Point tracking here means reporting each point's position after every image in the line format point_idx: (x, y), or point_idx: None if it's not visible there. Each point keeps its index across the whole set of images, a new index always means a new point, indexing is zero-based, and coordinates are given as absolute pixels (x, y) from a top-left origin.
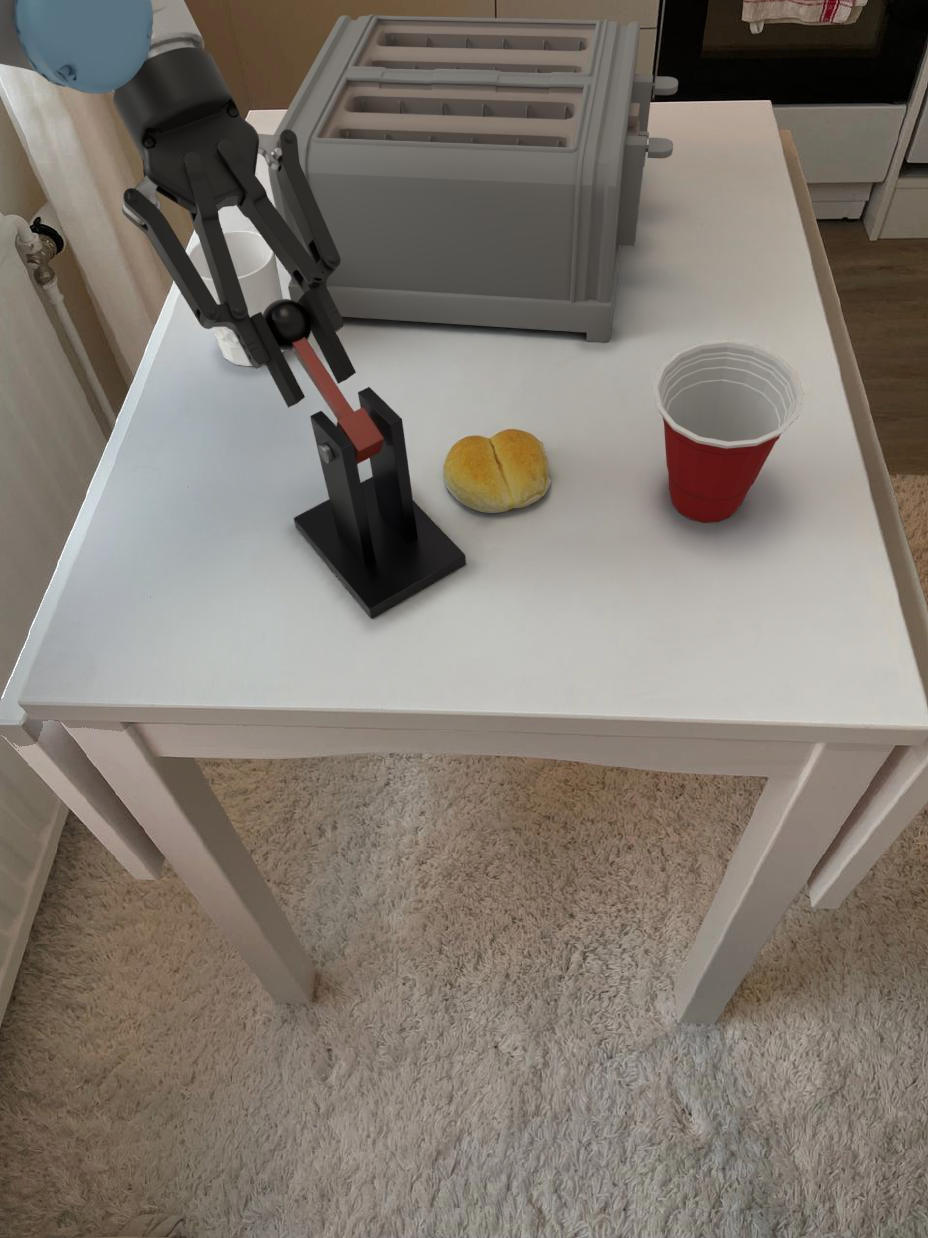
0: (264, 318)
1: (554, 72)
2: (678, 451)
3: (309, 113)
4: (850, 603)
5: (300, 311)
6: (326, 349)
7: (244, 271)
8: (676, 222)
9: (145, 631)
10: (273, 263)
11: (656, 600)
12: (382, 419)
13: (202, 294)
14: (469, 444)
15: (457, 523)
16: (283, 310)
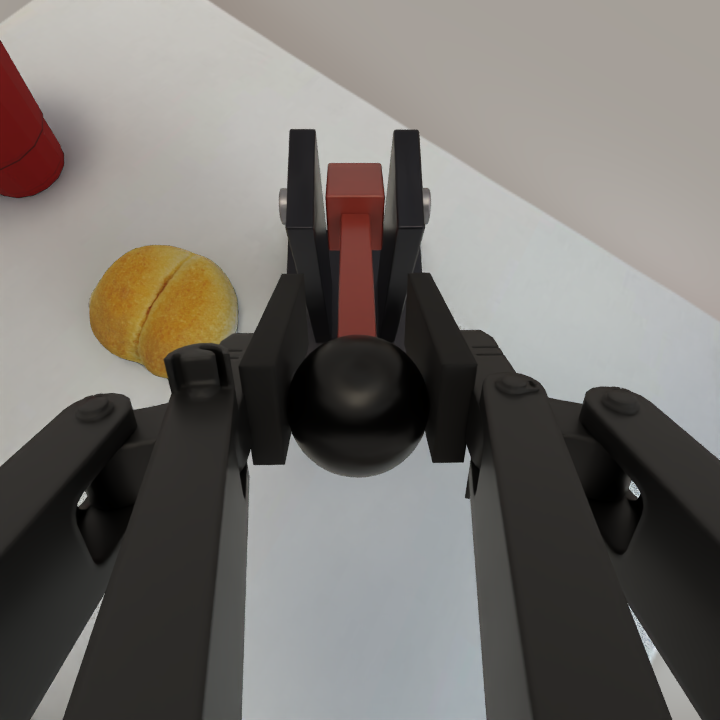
0: (439, 352)
1: None
2: (3, 70)
3: None
4: (50, 21)
5: (317, 357)
6: (299, 342)
7: None
8: None
9: (647, 369)
10: None
11: (174, 107)
12: (315, 156)
13: (663, 446)
14: (172, 324)
15: (260, 292)
16: (367, 361)
